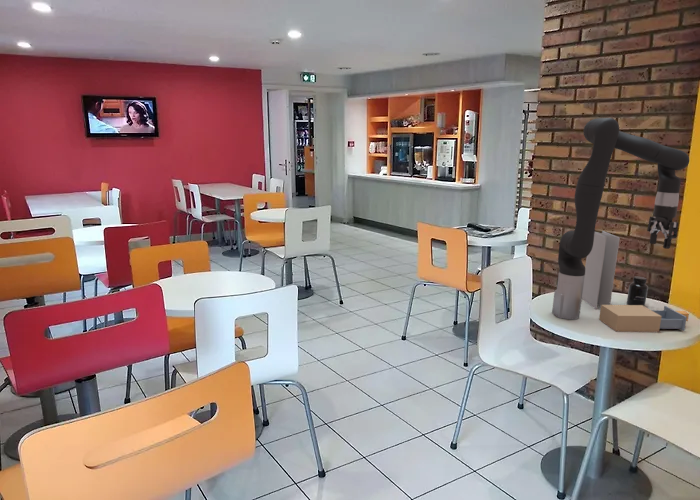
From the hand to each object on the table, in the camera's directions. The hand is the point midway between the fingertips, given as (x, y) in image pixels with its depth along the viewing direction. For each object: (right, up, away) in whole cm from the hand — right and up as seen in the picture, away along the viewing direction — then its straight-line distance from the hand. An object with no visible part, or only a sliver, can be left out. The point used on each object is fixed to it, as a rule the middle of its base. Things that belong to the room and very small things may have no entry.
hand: (659, 245), depth 198 cm
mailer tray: (-4, -30, -6) cm, 30 cm away
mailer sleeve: (-15, -30, -6) cm, 34 cm away
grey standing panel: (-16, -24, +18) cm, 35 cm away
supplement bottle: (+1, -25, +18) cm, 31 cm away
